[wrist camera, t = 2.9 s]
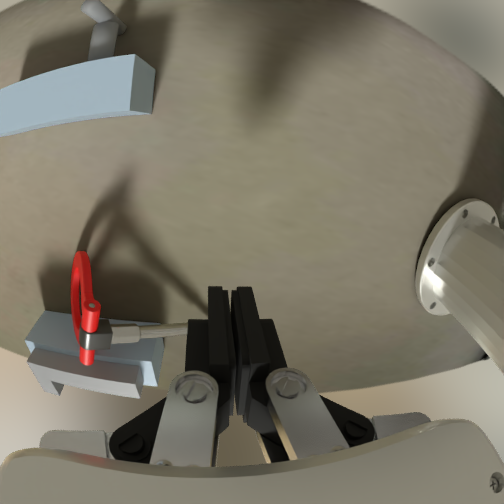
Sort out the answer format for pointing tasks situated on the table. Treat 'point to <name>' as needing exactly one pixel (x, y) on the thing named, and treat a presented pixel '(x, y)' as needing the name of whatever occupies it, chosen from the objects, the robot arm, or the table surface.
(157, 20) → the table surface
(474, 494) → the robot arm
